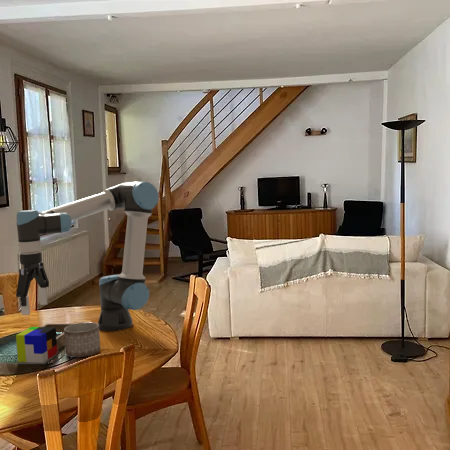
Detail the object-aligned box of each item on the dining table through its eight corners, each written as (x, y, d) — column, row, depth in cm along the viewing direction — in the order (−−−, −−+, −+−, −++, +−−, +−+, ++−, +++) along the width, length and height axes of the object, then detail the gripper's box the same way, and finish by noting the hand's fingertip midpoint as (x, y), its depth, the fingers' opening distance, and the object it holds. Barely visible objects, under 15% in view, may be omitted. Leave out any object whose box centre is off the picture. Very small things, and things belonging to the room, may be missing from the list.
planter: (68, 362, 182) (66, 334, 181) (64, 351, 194) (62, 325, 193) (103, 355, 187) (101, 328, 186) (97, 345, 199) (95, 320, 198)
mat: (57, 354, 191) (57, 352, 191) (44, 364, 181) (44, 362, 181) (32, 354, 192) (32, 352, 192) (18, 364, 182) (18, 362, 182)
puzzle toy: (43, 362, 181) (40, 335, 180) (18, 361, 183) (15, 335, 182) (57, 353, 190) (55, 327, 189) (33, 352, 192) (31, 326, 191)
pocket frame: (46, 333, 217) (46, 323, 217) (78, 333, 215) (78, 323, 215) (18, 352, 194) (17, 341, 194) (54, 353, 192) (53, 341, 192)
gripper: (36, 247, 196) (41, 300, 198) (2, 258, 171) (7, 319, 173) (55, 247, 195) (59, 300, 197) (22, 258, 170) (28, 319, 172)
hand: (35, 309), depth 185 cm, fingers open, 13 cm apart
